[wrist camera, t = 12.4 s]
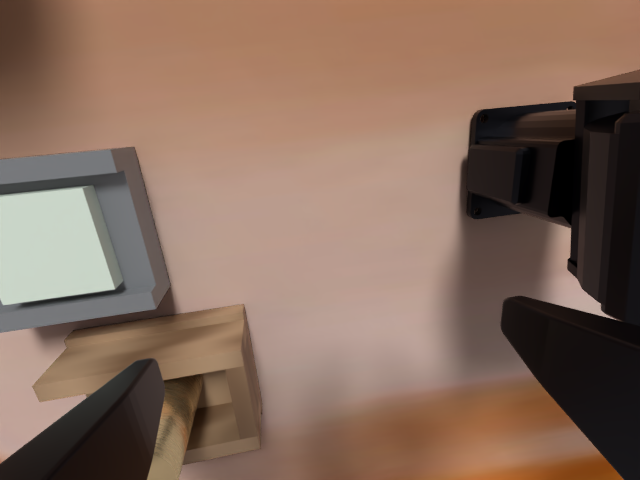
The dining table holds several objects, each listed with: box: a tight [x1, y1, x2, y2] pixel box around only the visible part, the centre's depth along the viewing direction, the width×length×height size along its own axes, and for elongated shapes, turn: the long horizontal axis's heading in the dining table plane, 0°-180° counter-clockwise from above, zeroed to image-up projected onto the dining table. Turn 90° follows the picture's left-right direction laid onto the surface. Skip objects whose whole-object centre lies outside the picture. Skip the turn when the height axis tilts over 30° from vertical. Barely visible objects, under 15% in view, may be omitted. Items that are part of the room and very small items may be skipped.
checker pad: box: [0, 185, 123, 305], centre depth 15 cm, size 5×5×1 cm
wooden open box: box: [32, 304, 262, 465], centre depth 20 cm, size 10×8×4 cm
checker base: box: [0, 147, 170, 333], centre depth 17 cm, size 8×8×3 cm
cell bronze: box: [147, 374, 203, 480], centre depth 17 cm, size 4×4×7 cm
